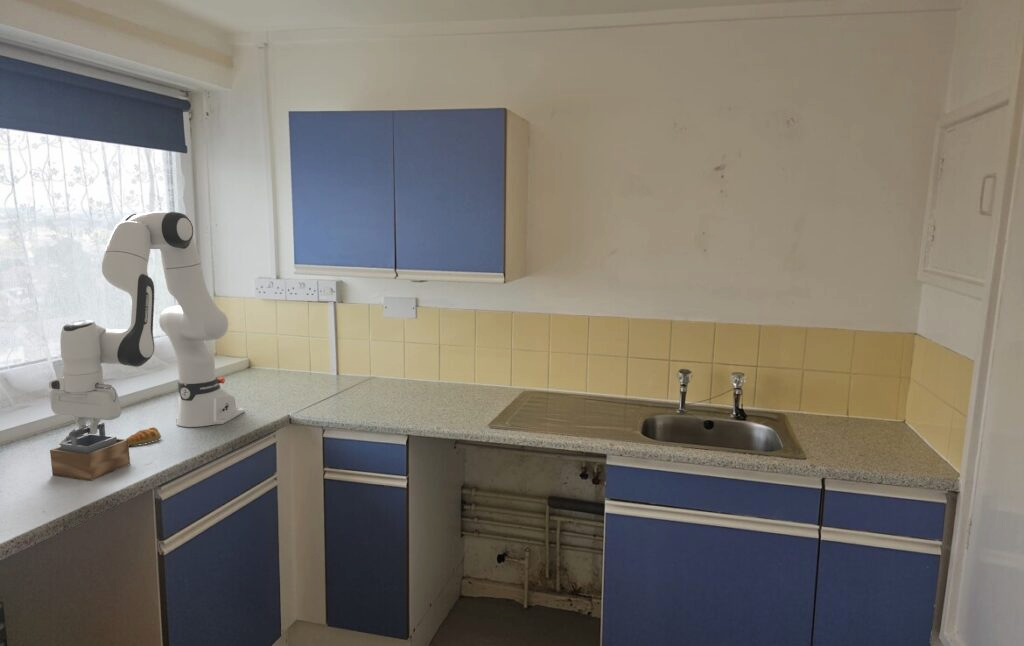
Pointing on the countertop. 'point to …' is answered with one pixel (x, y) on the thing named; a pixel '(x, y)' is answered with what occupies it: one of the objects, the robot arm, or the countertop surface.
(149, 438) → the pastry
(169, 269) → the robot arm
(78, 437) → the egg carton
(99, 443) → the small crate
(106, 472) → the big crate
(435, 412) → the countertop surface
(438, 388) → the countertop surface
